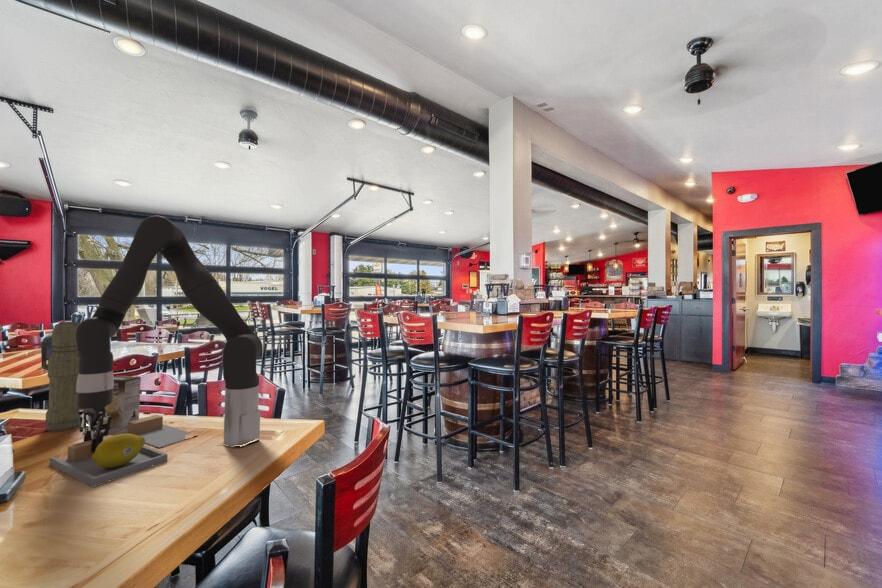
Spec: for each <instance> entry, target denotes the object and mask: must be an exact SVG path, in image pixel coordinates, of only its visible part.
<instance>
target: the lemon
mask: <svg viewBox="0 0 882 588" xmlns="http://www.w3.org/2000/svg"><path fill="white" fill-rule="evenodd" d="M143 445H144V446H145V438H144V437H142V436H137V435H134V434H122V433H121V434H120V433H119V434H115V435H112V437H109V438H107V439H105V440H104V441H102V442H101V443H100V444H99V445H98V446H97V448H96V450H95V453H94V454H93V455H92V457H91V458H92V460H94V461H95V462H96V464H97V465H98V466H99V467H101V468H106V469H111V468H116V467H120V466H122V465H124V464H126V463H128V462H130V461H131V460H132V459H134V458H135V457H136V456H137V455H138V453H139V452H140V450H141V448H142V447H143Z"/></svg>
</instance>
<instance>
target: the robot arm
mask: <svg viewBox="0 0 882 588" xmlns="http://www.w3.org/2000/svg"><path fill="white" fill-rule="evenodd" d="M135 231H136V232H135V235H134V236H133V238H132V239H133V240H132V241H131V243H130V246H129V248H128V249H127V252H126V254H125V256H124V258H123V261H122V262H121V265H120V266H119V268H118V270H117V272H116V273H115V275H114V277H113V278H112V279H111V281H110V282H109V283H108V285H107V287H106V288H105V290H104V291H103V293H102V294H101V296H100V297H99V300H98V306H97V309H96V310H95V312H94V314H93V315H92V316H91V317H88V318H85V319H84V320H82V321H80V322H79V323H80V324H79V325H78V327H77V330H76V344H77V349H78V353H79V369H78V373H79V374H78V378H77V385H76V407H77V408H81V409H83V410H82V411H78V421H79V427H78V428H79V433H81V434H82V436H83V442H85V441H89V440H92V443H91V452H93V453H95V450H96V448H97V446H98V445H99V444H100V443H101V442H102V441H103V437H104V436H108V435H109V431H110V429H111V427H110V423H111V418H112V417H111V416H107V413H106V410H105V406H106V405H109V404H111V403H112V402H113V386H114V354H113V352H112V351H111V349H110V347H111V346H110V340H111V339H112V337H114V336H115V334H117V332H118V331H119V329H120V327H121V326H122V323H123V321H124V319H125V317H126V314H127V312H128V311H129V310H130V309H131V307H132V305H133V304H134V302H135V301H136V299H137V298H138V296H139V295H140V293H141V290H142V289H143V287H144V284H145V281H146V277H147V275H148V270H149V268H150V265H151V264H152V261H153V260H154V259H155V257H156V256H157V254H158V253H160V255H161V256H162V257H163V259H165V260H166V262H167V263H168V264H169V265H170V267H171V268H172V270H173V271H174V273H175V276H176V280H177V282H178V285H179V287H180V290H181V291H182V292H183V294H184V295H185V297H186V298H187V300H188V302H189V303H190V304H191V305H192V307H193V308H194V309H195V310H196V311H197V312H198V313H199V314H200V315H201V316H202V317H203V318H205V319H206V320H208V321H209V322H210V323H211V324H212V325H214V326H215V327H216V328H217V329H218V330H219V331H220V333H221V334H222V335H223V337H224V338H225V340H226V343H225V344H224V347H223V351H222V376H223V377H222V378H223V380H224V384H225V386H224V387H225V389H224V391H225V392H224V411H223V412H224V414H223V415H224V416H223V417H224V419H223V445H224V444H225V445H228V446H234V445H243V444H246V443H248V442H250V441H253V440H255V439H257V438H259V439H260V437H261V436H260V435H261V434H260V432H261V427H260V426H261V425H260V424H261V410H260V409H259V404H260V403H259V399H260V398H259V396H260V395H259V394H260V376H259V375H258V373H257V360H258V358H259V357H260V356H261V355H262V352H263V349H264V348H263V342H262V340H261V339H260V337H259V336H258V335H257V334H256V332H254V331H253V329H252V328H251V327H250V326H249V325H248V323H247V322H245V320H244V319H243V318H242V317H241V315H240V314H239V312H238V310H237V309H236V308H235V306H234V304H233V303H232V301H231V300H230V298H229V297H228V295H227V294H226V293H225V291H224V289H223V288H222V286H221V285H220V284H219V282H218V281H217V280H216V278H215V277H214V276H213V275H212V273H211V272H210V271H209V270H208V268H207V267H206V266H205V265H204V264H203V263H202V262H201V260H200V259H199V258H198V257H197V256H196V254H195V253H194V251H193V249H192V247H191V245H190V243H189V242H188V239H186V236H185V235H184V232H183V231H182V229H181V228H180V227H179V226H178V225H177V224H175V223H174V222H173V221H171V220H170V219H168V218H167V217H165V216H161V215H151V216H148V217H145V218H144V219H143V220H141V222H140V223H139V225H138V228H137V229H136V230H135ZM225 445H224V446H225Z"/></svg>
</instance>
